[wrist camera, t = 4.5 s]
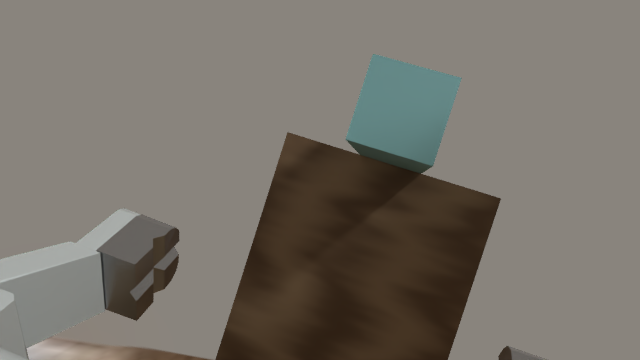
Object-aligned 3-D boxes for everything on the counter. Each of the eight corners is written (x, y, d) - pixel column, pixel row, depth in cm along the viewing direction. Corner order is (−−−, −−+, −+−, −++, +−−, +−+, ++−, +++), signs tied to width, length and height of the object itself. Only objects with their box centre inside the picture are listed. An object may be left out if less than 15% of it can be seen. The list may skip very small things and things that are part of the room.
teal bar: (432, 166, 20) (461, 78, 20) (345, 139, 21) (372, 53, 21) (411, 179, 44) (424, 139, 44) (371, 166, 44) (384, 127, 44)
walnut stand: (375, 492, 39) (473, 196, 38) (369, 594, 29) (500, 198, 28) (224, 427, 41) (313, 146, 40) (170, 502, 31) (287, 132, 30)
